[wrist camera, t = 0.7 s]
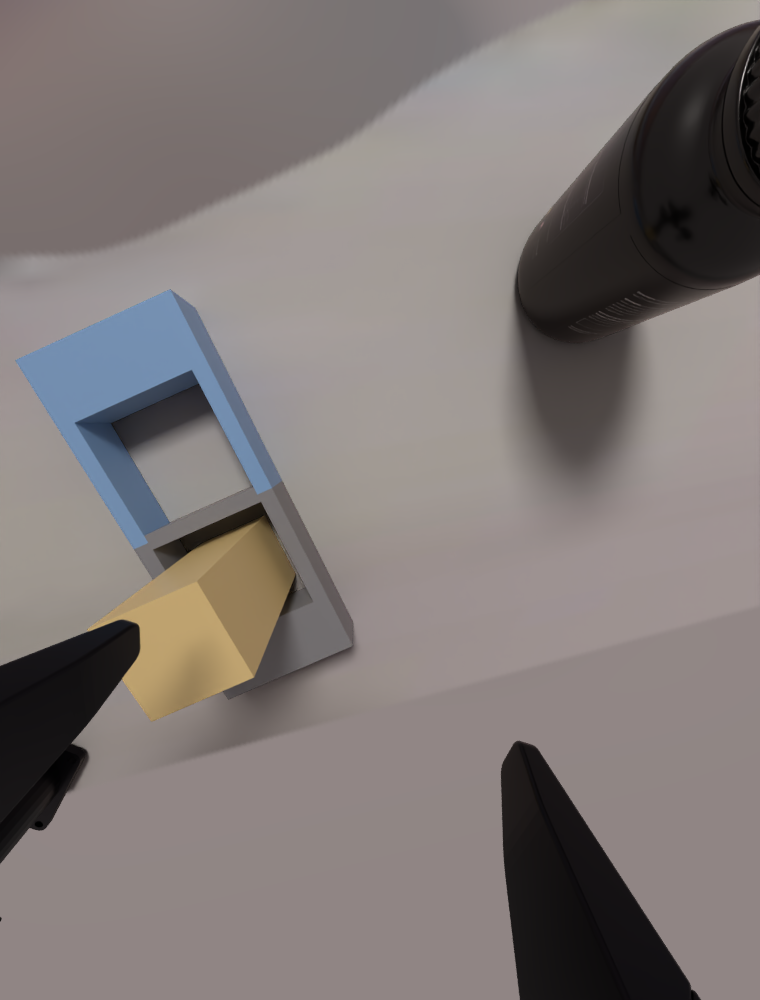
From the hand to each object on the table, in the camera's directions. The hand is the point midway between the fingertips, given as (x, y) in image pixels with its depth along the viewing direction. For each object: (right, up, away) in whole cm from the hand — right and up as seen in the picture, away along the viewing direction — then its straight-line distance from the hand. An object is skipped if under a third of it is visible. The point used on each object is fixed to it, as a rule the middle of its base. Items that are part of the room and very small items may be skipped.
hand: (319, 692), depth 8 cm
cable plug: (-6, +1, +13) cm, 14 cm away
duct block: (-8, +4, +12) cm, 15 cm away
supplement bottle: (+12, +16, +11) cm, 23 cm away
